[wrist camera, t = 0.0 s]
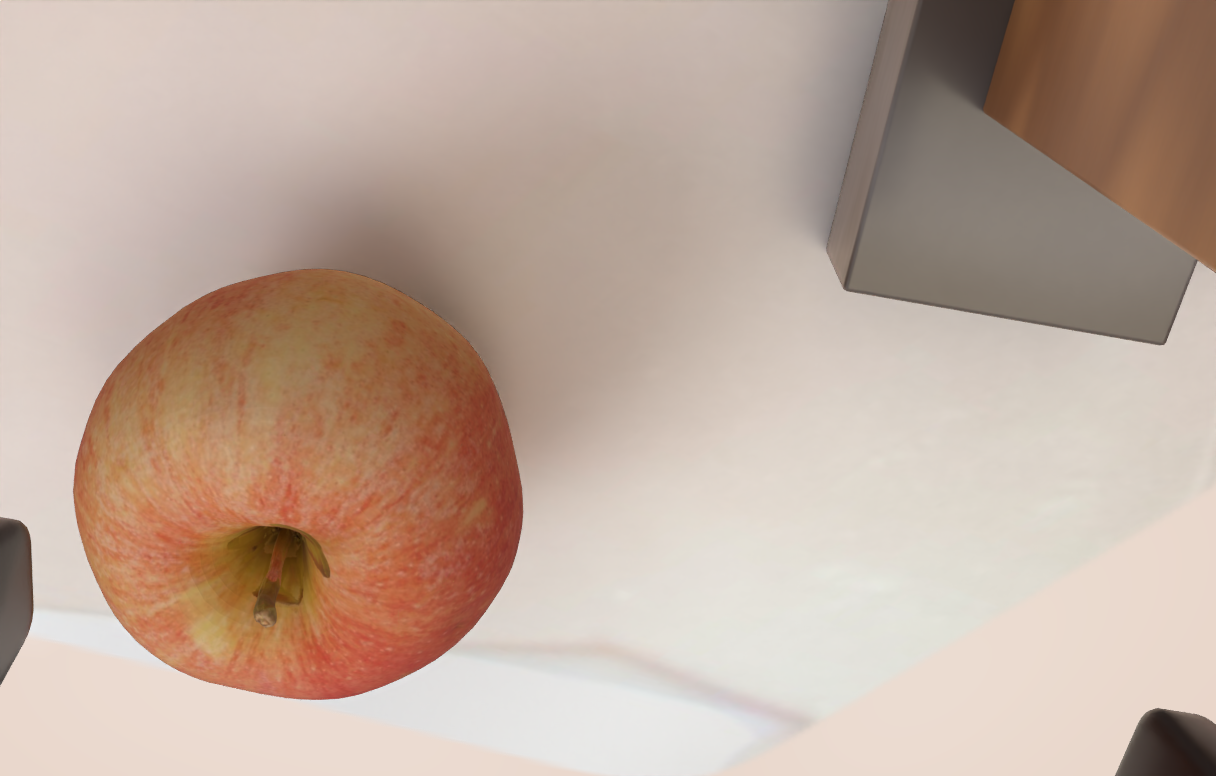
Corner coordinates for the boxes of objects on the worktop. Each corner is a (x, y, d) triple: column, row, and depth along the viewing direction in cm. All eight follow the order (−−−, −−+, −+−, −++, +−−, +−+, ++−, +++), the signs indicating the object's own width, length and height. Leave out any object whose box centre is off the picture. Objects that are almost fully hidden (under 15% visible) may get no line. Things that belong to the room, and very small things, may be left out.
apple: (584, 278, 24) (550, 452, 16) (499, 596, 27) (439, 863, 19) (196, 175, 23) (-21, 307, 16) (155, 512, 26) (-40, 754, 19)
